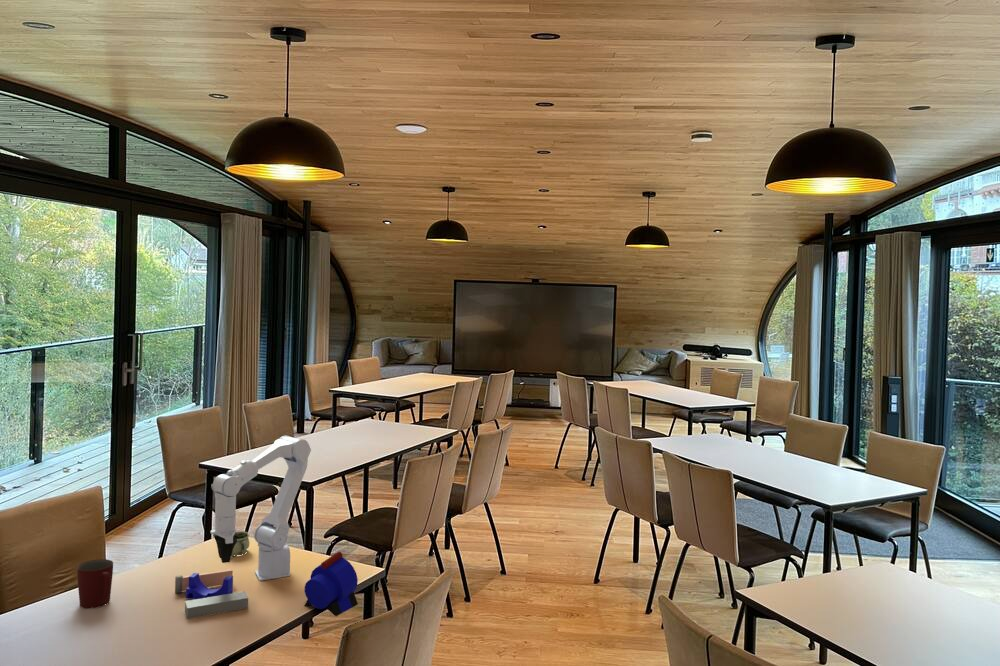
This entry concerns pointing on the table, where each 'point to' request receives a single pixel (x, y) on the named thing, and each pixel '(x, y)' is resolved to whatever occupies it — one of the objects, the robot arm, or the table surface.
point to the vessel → (240, 543)
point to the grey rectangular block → (216, 604)
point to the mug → (94, 582)
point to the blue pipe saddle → (201, 591)
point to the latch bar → (202, 579)
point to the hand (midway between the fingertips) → (224, 559)
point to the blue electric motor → (332, 585)
